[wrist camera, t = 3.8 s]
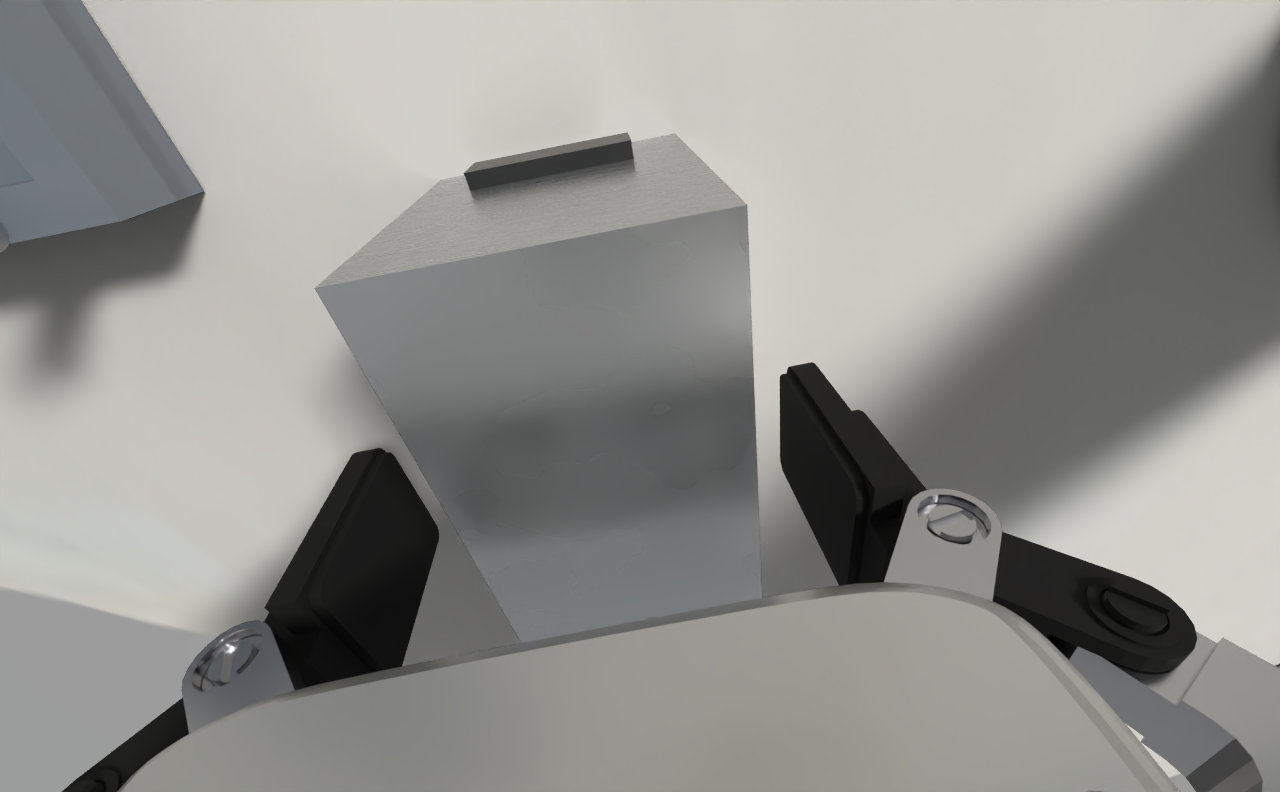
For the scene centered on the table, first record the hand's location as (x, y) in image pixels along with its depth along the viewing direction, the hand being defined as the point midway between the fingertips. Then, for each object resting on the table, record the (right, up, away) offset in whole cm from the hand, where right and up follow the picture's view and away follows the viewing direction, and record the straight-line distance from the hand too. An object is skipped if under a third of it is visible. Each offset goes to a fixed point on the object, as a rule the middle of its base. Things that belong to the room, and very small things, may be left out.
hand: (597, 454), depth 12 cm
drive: (0, +2, +2) cm, 3 cm away
